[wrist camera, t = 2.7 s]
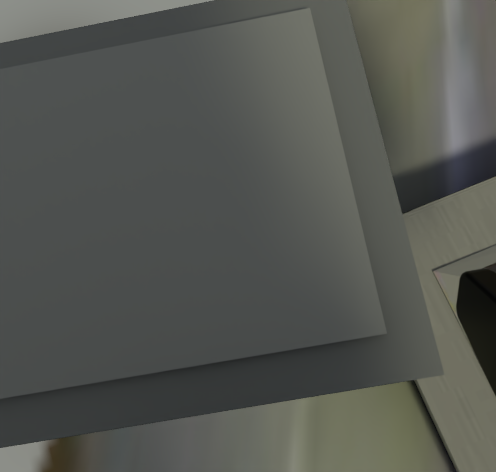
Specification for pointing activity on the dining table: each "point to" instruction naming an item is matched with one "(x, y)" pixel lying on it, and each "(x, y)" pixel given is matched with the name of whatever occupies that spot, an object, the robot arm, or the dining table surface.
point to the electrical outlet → (447, 323)
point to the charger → (197, 221)
